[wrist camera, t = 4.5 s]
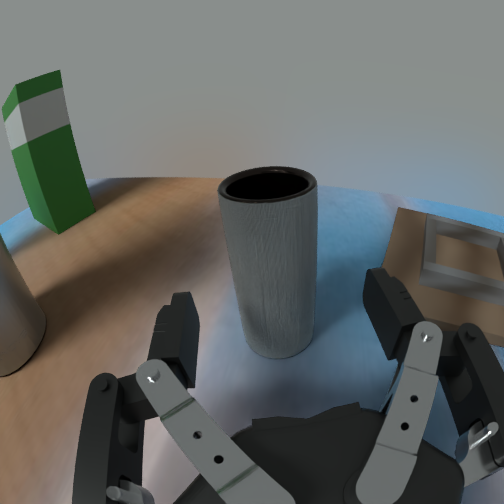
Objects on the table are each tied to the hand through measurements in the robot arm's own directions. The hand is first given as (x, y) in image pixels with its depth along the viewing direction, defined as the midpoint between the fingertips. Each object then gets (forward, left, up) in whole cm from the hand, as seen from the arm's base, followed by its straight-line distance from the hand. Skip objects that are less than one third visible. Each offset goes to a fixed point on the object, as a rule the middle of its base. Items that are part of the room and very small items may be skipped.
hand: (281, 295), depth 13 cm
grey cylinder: (-2, +2, -6) cm, 7 cm away
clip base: (+11, +14, -6) cm, 19 cm away
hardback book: (-47, +6, -6) cm, 48 cm away
